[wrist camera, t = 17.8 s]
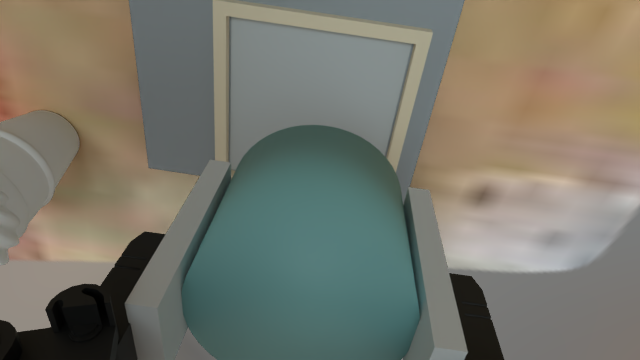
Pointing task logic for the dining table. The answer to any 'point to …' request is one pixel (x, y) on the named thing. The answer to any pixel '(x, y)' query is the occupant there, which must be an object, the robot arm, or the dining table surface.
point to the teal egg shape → (306, 255)
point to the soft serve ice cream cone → (30, 169)
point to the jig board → (287, 74)
